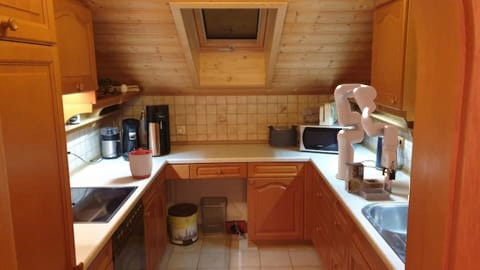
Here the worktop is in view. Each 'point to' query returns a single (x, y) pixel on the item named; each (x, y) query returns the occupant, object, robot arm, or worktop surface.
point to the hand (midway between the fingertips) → (388, 177)
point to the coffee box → (354, 177)
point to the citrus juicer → (140, 163)
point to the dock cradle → (374, 194)
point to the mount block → (372, 184)
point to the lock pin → (387, 182)
